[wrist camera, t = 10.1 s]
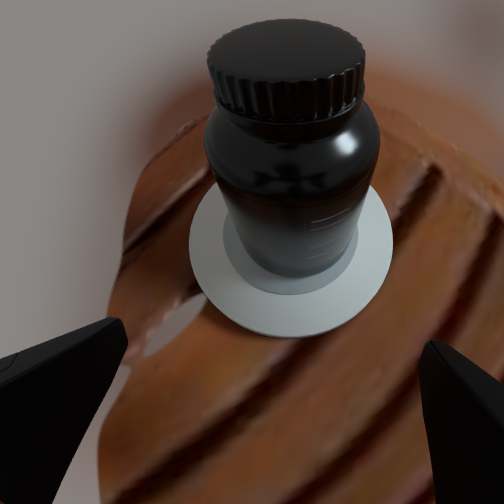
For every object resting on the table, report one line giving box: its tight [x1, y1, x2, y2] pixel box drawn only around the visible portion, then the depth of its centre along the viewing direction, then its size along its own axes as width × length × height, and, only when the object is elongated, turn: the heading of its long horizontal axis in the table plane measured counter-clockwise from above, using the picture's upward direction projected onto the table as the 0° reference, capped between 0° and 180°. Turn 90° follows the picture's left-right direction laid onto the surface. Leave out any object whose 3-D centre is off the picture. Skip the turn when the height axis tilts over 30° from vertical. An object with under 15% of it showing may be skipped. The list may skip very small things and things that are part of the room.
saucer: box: [189, 182, 393, 339], centre depth 19 cm, size 13×13×2 cm
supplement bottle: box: [204, 19, 380, 278], centre depth 12 cm, size 7×7×12 cm
